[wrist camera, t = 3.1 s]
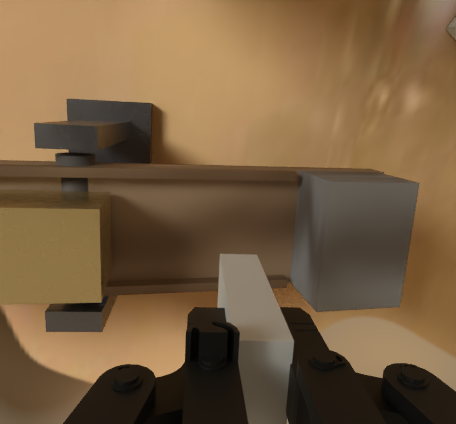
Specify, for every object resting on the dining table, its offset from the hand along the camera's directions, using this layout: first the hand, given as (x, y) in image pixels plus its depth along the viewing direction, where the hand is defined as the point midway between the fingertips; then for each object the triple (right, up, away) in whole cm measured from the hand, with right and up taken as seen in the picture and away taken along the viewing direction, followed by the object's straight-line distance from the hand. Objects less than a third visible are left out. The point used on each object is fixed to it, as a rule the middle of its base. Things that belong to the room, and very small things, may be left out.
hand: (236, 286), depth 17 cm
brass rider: (-10, +2, +5) cm, 11 cm away
